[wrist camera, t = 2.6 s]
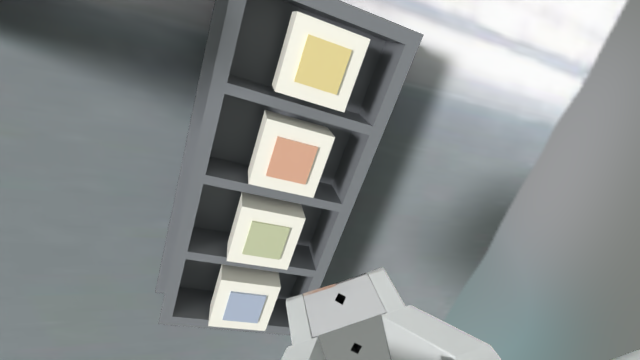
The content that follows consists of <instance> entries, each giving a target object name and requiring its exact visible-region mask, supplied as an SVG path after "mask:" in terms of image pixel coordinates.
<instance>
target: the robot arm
mask: <svg viewBox="0 0 640 360" xmlns="http://www.w3.org/2000/svg"><path fill="white" fill-rule="evenodd" d="M286 308H287V315H288V321H289V327H290V334H291V340H292V346H289V347H287V349H286V351H285V353H284V355H283V357H282V359H281V360H501V358H500V357H499V356H498V354H497V353H496V352H495V350H494V349H493V348H492V346H491V345H489V344H487V343H485V342H483V341H481V340H479V339H477V338H475V337H473V336H471V335H469V334H467V333H465V332H463V331H461V330H459V329H457V328H455V327H454V326H452V325H450V324H448V323H446V322H444V321H442V320H440V319H438V318H436V317H434V316H432V315H430V314H428V313H426V312H424V311H422V310H420V309H418V308H416V307H414V306H412V305H409V306H406V305H405V304H404V302H403V300H402V298H401V297H400V295H399V293H398V291H397V290H396V288H395V286H394V284H393V283H392V281H391V279H390V277H389V276H388V274H387V272H386V270H385V269H384V268H383V267H381V268H378V269H375V270H373V271H370V272H367V273H364V274H361V275H358V276H356V277H353V278H350V279H347V280H344V281H341V282H338V283H335V284H332V285H329V286H326V287H322V288H319V289H316V290H312V291H309V292H306V293H303V294H301V295H297V296H294V297H291V298H287V299H286ZM611 360H640V349H638V350H635V351H633V352H630V353H627V354H625V355H622V356H619V357H617V358H614V359H611Z"/></svg>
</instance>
